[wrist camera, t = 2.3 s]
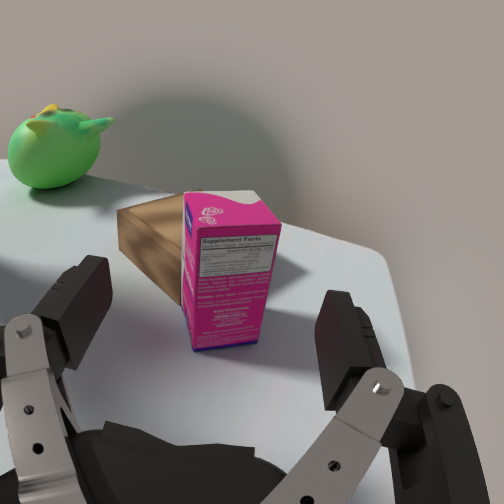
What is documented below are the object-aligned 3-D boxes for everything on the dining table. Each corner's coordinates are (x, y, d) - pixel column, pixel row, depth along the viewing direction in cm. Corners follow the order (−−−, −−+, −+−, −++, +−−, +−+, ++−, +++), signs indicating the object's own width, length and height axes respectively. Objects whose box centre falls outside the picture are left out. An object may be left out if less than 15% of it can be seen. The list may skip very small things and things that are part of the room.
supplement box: (178, 306, 29) (183, 188, 23) (239, 301, 31) (257, 189, 25) (190, 354, 24) (196, 224, 18) (259, 345, 26) (288, 222, 21)
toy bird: (79, 164, 60) (79, 97, 52) (119, 184, 52) (121, 101, 45) (4, 186, 46) (-2, 112, 39) (26, 214, 39) (18, 117, 31)
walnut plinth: (119, 249, 35) (116, 208, 33) (196, 223, 43) (199, 187, 41) (179, 305, 29) (181, 258, 26) (263, 264, 37) (271, 223, 35)
